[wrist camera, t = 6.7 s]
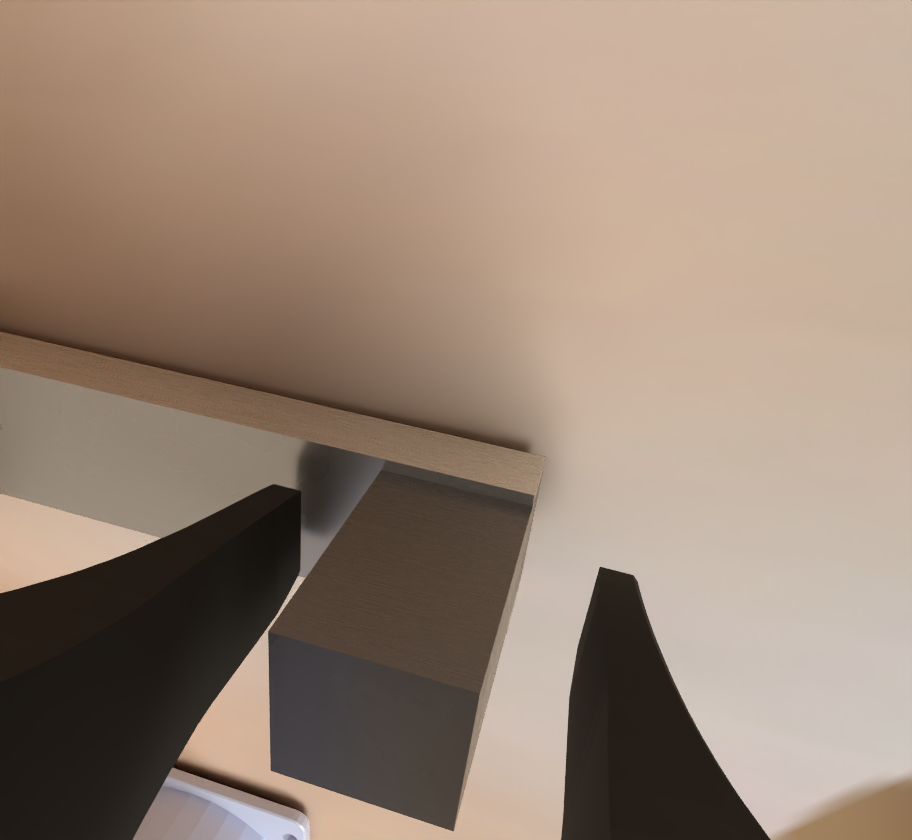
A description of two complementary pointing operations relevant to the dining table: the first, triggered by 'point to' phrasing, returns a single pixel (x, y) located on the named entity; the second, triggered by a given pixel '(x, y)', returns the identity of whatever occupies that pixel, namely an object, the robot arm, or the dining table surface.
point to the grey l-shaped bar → (307, 550)
